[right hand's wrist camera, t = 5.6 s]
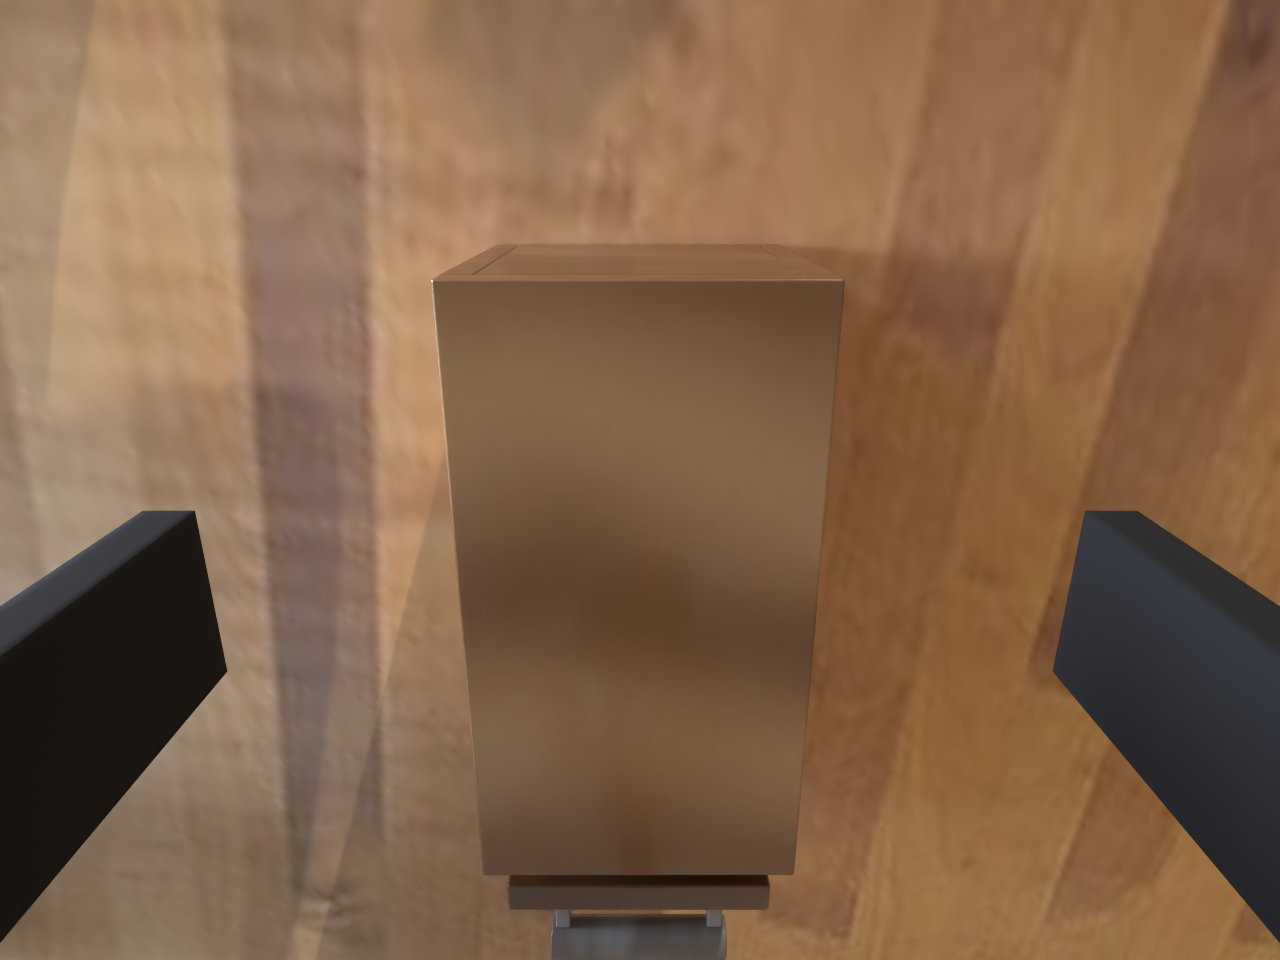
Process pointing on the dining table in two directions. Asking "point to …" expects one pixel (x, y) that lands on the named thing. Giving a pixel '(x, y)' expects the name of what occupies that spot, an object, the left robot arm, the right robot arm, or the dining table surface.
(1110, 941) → the dining table surface
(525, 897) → the drawer
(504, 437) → the cabinet
